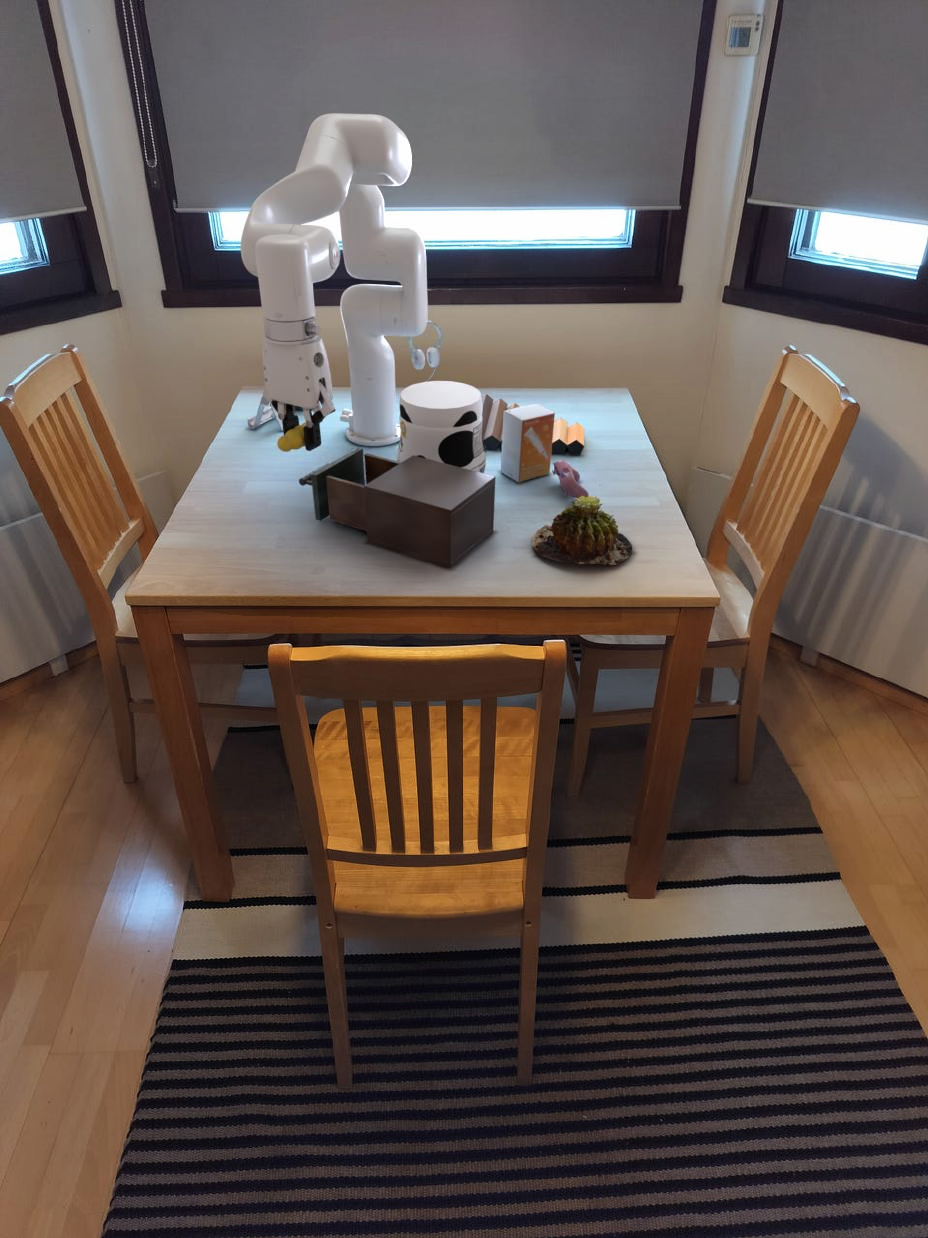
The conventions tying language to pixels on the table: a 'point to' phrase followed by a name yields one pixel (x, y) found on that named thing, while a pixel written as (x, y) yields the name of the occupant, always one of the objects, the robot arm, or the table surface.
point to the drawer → (345, 486)
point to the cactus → (583, 536)
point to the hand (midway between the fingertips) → (303, 443)
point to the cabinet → (430, 510)
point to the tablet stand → (264, 415)
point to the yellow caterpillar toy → (292, 439)
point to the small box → (527, 442)
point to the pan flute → (495, 411)
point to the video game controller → (569, 479)
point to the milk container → (442, 424)
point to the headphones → (432, 353)
